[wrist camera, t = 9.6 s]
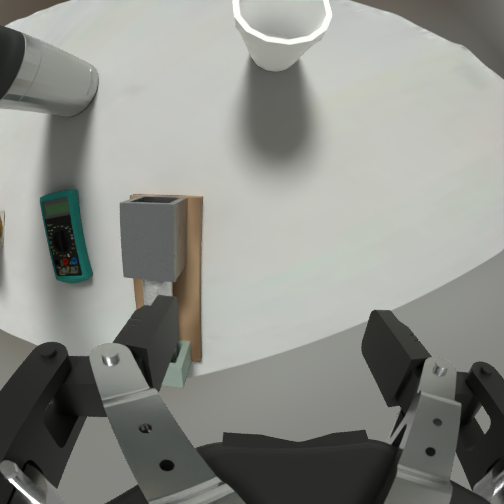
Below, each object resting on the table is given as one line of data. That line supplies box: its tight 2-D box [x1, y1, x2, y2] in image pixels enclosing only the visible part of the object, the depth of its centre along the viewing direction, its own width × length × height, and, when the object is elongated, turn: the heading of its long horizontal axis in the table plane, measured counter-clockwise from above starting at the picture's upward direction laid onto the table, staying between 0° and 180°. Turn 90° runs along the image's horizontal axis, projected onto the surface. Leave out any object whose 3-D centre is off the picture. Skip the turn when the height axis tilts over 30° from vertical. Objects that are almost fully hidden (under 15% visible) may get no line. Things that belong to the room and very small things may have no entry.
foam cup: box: [232, 0, 332, 72], centre depth 25 cm, size 10×9×13 cm
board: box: [130, 194, 203, 362], centre depth 40 cm, size 10×26×2 cm, turn 176°
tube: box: [142, 279, 177, 363], centre depth 37 cm, size 4×19×4 cm, turn 176°
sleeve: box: [120, 196, 188, 282], centre depth 34 cm, size 7×9×7 cm
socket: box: [162, 340, 191, 388], centre depth 40 cm, size 7×4×7 cm, turn 86°
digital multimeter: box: [40, 189, 93, 283], centre depth 38 cm, size 7×15×3 cm, turn 4°
